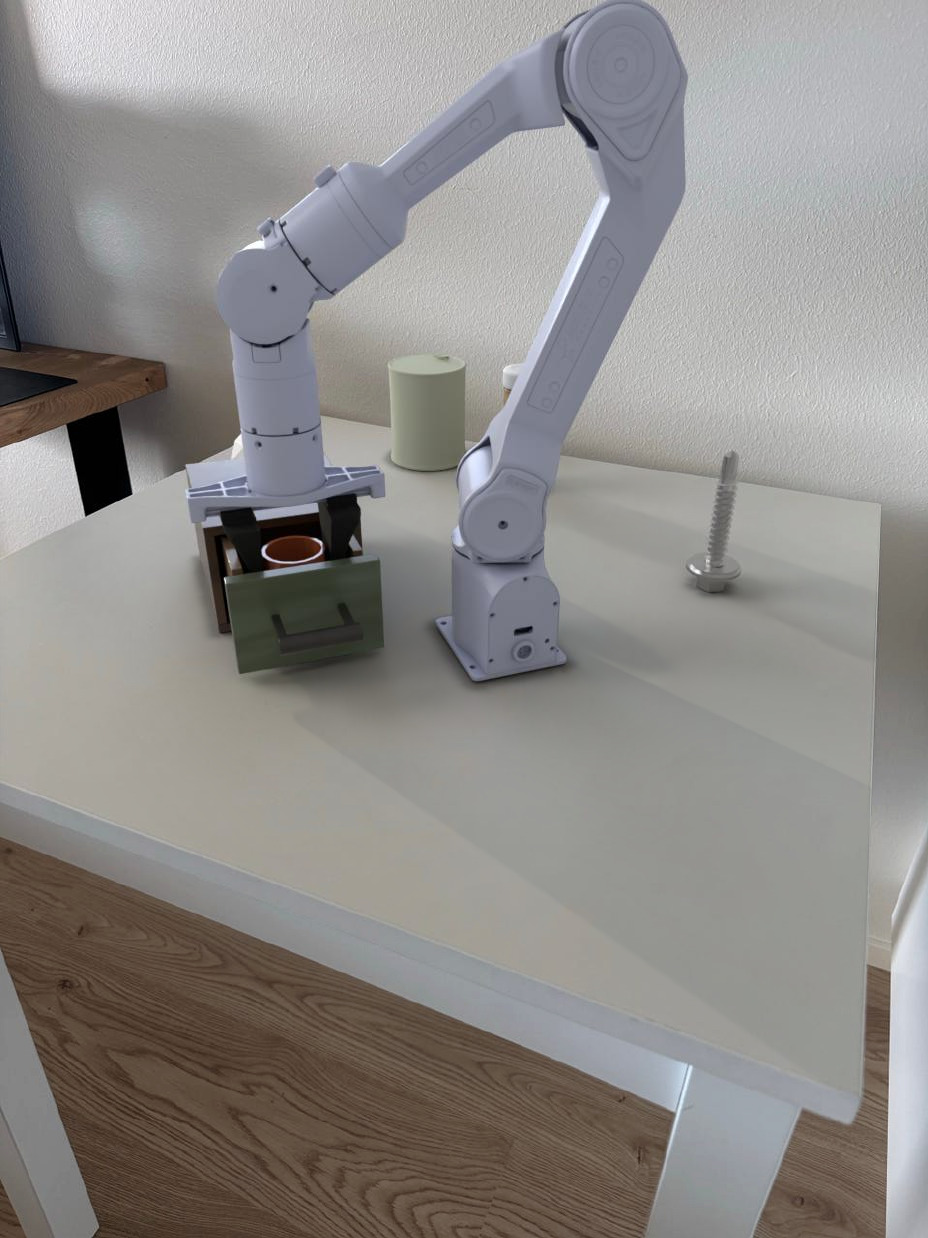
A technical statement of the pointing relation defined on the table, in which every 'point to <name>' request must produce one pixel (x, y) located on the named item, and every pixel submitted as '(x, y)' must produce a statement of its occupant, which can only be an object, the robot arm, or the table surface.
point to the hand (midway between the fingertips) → (297, 589)
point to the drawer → (302, 605)
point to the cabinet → (213, 526)
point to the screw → (718, 534)
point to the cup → (292, 552)
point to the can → (427, 411)
